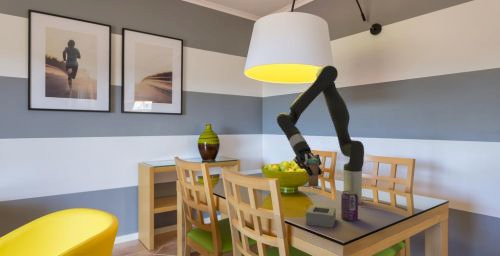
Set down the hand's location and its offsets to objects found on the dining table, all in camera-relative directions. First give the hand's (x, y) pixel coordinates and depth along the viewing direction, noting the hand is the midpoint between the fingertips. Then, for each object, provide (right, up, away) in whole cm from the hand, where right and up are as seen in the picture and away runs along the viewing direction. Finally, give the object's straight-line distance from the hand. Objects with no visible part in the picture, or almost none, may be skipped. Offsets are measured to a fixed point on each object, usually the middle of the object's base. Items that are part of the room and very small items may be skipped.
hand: (316, 174), depth 125 cm
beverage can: (+15, -20, 0) cm, 25 cm away
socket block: (+1, -20, -3) cm, 20 cm away
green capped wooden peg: (-1, -5, +2) cm, 6 cm away
